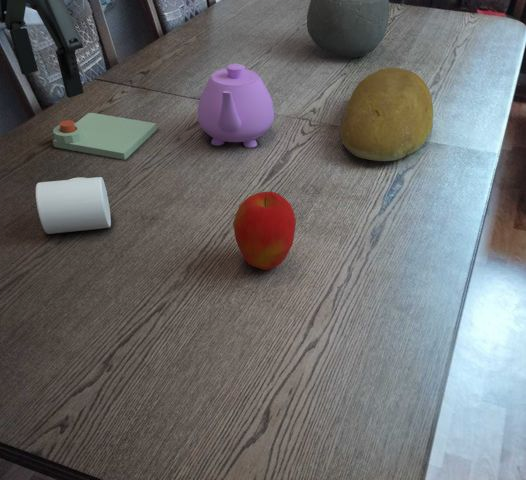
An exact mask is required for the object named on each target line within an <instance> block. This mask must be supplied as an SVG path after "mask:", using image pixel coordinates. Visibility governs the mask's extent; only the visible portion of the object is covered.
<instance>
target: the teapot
mask: <svg viewBox="0 0 526 480" xmlns="http://www.w3.org/2000/svg"><path fill="white" fill-rule="evenodd" d="M273 104H274V103H273V99H272V97H271V95H270V93H269V90H268V89H267V87H266V85H265V83H264V82H263V80H262V78H261V77H260V76H259V74H258V73H257V72H255V71H254V70H251V69H248V68H247V67H246V65H243V64H240V63H230V64H227V65H226V68H223V69H218V70H216V71H215V72H213V73H212V74H211V76H210V77H209V79H207V82H206V83H205V86H204V88H203V90H202V92H201V94H200V98H199V101H198V106H197V122H198V124H199V127H200V128H201V129H202V130H203V131H204V132H205V133H206V134H207V135H208V136H210V137H211V138H212V139H211V141H210V143H211V145H213V146H221V145H224V144H225V143H226V142H229V143H242V142H243V143H242V144H243V146H244V147H246V148H255V147H257V146H258V142H257V140H256V139H260V138H261V137H263V136H264V135H265V134H266V133H267V132H268V130H269V129H271V127H272V125H273V123H274V122H275V108H274V105H273Z"/></svg>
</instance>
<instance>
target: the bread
mask: <svg viewBox="0 0 526 480" xmlns="http://www.w3.org/2000/svg"><path fill="white" fill-rule="evenodd" d="M433 124H434V106H433V99H432V95H431V91H430V89H429V86H428V85H427V83H426V82H425V81H424V80H423V79H422V77H420V76H419V75H418V74H417V73H415V72H413V71H411V70H408V69H404V68H400V67H387V68H383V69H378V70H377V71H374V72H372V73H370V74H368V75H367V76H366V77H364V78H363V79H362V80H361V81H360V82H358V84H357V85H356V87H355V88H354V90H353V91H352V94H351V96H350V97H349V100H348V102H347V106H346V110H345V115H344V117H343V121H342V127H341V134H340V138H341V142H342V144H343V146H344V147H345V149H346V150H347V151H348V152H350V153H351V154H352V155H354V156H355V157H357V158H360V159H364V160H369V161H374V162H375V161H376V162H390V161H397V160H401V159H402V158H404V157H405V156H410V155H412V154H413V153H415V152H417V151H419V149H421V148H422V147H423V146H424V144H425V143H426V141H428V138H429V136H430V134H431V133H432V129H433Z"/></svg>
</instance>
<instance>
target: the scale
mask: <svg viewBox="0 0 526 480" xmlns="http://www.w3.org/2000/svg"><path fill="white" fill-rule="evenodd" d="M74 125H75V129H76V131H74V132H71V133H62V132H61V129H60V125H59V124H58V125H57V126H55V127H54V128H53V131H52V133H53V136H54V139H53V140H52V143H53V148H58V149H62V150H69V151H73V152H80V153H85V154H91V155H96V156H101V157H106V158H107V157H108V158H113V159H118V160H123V161H126V160H127V159H128V158H129V157H131V155H132V154H133V153H134V152H136V150H138V148H140V147H141V146H142V145H143V144H144V143H145V142H146V141H147V140H148V139H149V138H150V137H151V136H153V134H154V133H156V131H157V130H158V126H157V123H156V122H149V121H144V120H138V119H132V118H126V117H119V116H113V115H108V114H102V113H96V112H87V114H85V115H84V116H83V117H81V118H80V119H78V121H76V122H74Z"/></svg>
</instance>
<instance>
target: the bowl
mask: <svg viewBox="0 0 526 480" xmlns="http://www.w3.org/2000/svg"><path fill="white" fill-rule="evenodd" d="M389 18H390V0H309V4H308V9H307V14H306V29H307V32H308V35H309V37H310V38H311V40H312V42H313V43H314V44H315V45H316V46H317V47H318V48H319V49H321V50H322V51H324V52H325V53H328V54H330V55H332V56H335V57H340V58H347V59H352V58H355V59H356V58H360V57H364V56H366V55H368V54H369V53H372V52H373V51H374V50H376V48H378V46H379V45H380V44H381V43H382V41H383V39H384V37H385V35H386V33H387V30H388V25H389V20H390V19H389Z"/></svg>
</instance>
